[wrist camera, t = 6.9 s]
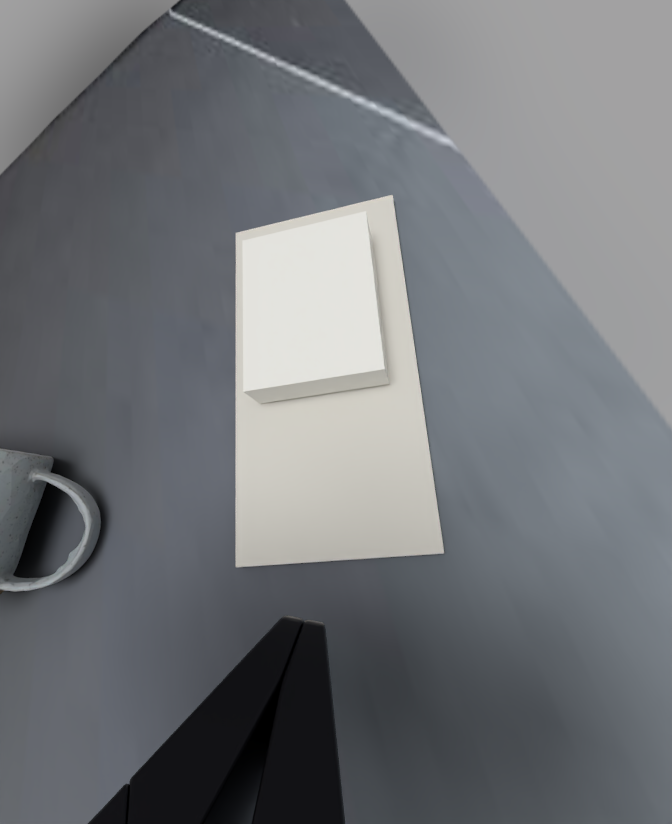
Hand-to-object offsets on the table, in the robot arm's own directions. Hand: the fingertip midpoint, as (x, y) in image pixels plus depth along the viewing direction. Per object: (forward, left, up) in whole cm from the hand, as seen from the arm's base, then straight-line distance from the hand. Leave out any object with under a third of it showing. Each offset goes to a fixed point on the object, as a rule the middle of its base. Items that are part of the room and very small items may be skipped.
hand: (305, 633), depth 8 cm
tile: (+1, +9, -10) cm, 14 cm away
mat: (+2, +11, -12) cm, 16 cm away
